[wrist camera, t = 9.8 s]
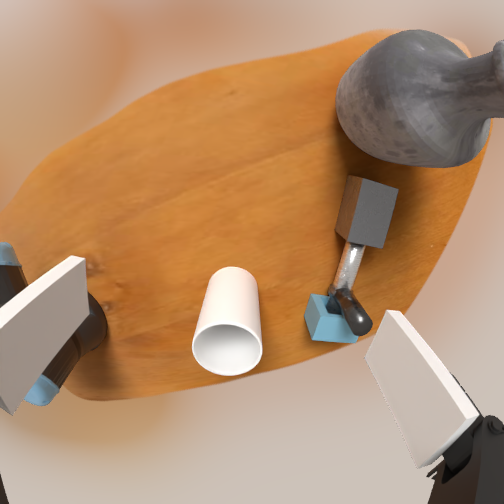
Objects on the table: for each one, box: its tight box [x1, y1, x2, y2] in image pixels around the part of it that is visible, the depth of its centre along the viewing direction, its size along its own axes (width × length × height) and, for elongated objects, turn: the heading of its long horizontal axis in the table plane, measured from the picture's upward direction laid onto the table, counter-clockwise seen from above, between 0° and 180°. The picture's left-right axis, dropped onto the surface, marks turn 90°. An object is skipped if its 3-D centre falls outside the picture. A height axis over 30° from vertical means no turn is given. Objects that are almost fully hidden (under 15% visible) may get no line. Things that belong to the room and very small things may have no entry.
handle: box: [325, 241, 373, 336], centre depth 38 cm, size 17×4×12 cm, turn 169°
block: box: [335, 175, 399, 249], centre depth 38 cm, size 9×6×6 cm, turn 169°
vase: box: [336, 30, 504, 168], centre depth 22 cm, size 16×16×30 cm
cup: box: [192, 267, 262, 376], centre depth 38 cm, size 8×8×16 cm
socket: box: [304, 294, 359, 343], centre depth 44 cm, size 4×8×7 cm, turn 79°
